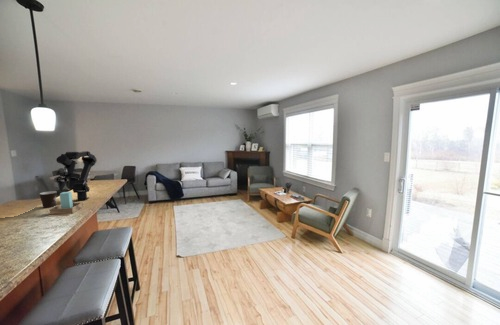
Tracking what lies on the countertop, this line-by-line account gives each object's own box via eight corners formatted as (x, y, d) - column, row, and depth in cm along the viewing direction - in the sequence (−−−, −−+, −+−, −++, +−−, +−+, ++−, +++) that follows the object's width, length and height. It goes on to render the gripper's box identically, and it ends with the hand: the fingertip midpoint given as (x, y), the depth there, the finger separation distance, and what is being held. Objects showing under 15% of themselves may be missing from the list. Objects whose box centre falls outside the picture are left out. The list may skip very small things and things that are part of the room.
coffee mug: (49, 208, 141) (48, 194, 140) (37, 208, 141) (35, 194, 140) (65, 203, 152) (63, 190, 151) (53, 203, 152) (52, 190, 151)
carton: (65, 207, 144) (65, 202, 144) (85, 205, 147) (85, 201, 146) (46, 216, 127) (45, 211, 126) (69, 215, 129) (68, 209, 129)
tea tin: (64, 209, 138) (62, 192, 136) (73, 208, 140) (71, 191, 138) (61, 211, 134) (59, 193, 132) (70, 210, 135) (68, 193, 134)
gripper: (47, 167, 142) (41, 189, 137) (64, 162, 136) (59, 185, 131) (65, 171, 152) (61, 192, 147) (82, 166, 146) (78, 188, 141)
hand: (64, 189), depth 141 cm, fingers open, 9 cm apart
